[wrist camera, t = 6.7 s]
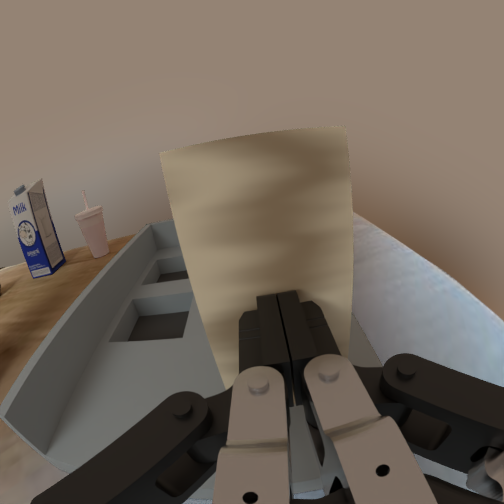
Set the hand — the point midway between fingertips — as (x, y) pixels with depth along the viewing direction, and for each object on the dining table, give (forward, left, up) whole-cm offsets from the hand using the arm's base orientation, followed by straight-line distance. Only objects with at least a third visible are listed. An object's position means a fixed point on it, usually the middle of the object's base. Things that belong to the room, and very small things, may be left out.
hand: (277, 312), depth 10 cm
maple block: (-1, +3, -7) cm, 7 cm away
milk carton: (-56, +18, -9) cm, 59 cm away
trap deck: (-9, +10, -9) cm, 16 cm away
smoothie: (-44, +26, -9) cm, 52 cm away
